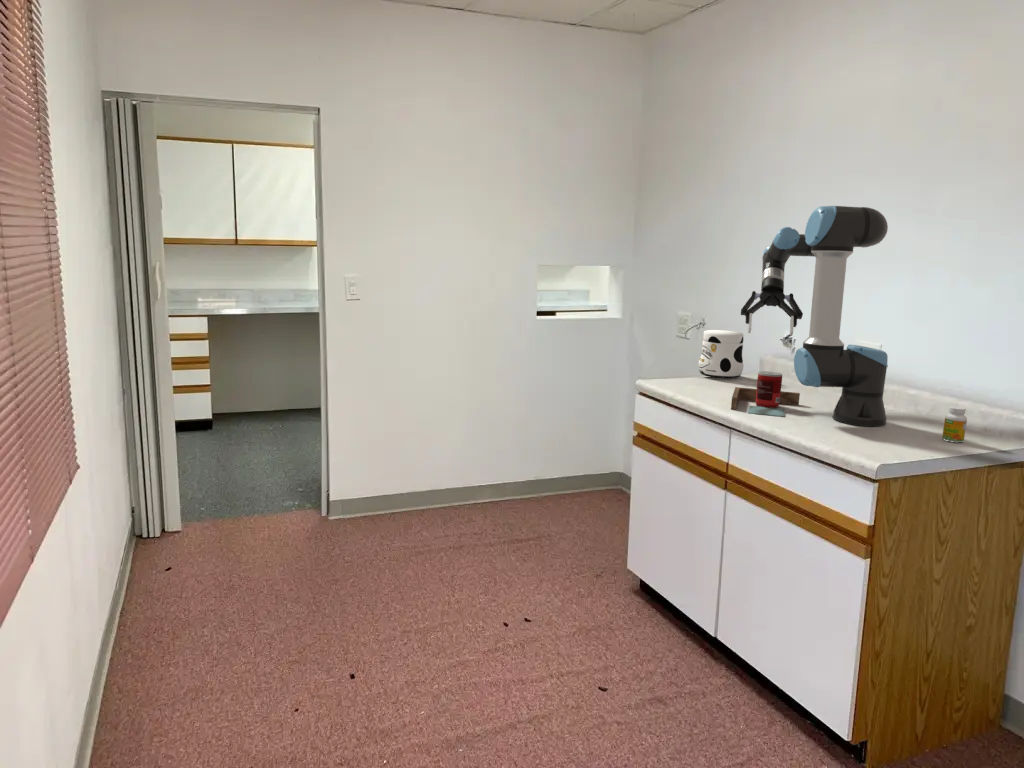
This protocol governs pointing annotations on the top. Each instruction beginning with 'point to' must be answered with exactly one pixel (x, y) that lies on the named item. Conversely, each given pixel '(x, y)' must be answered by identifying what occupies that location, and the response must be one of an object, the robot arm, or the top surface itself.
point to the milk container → (721, 354)
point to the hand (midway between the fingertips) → (770, 332)
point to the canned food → (768, 389)
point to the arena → (750, 395)
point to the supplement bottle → (955, 424)
